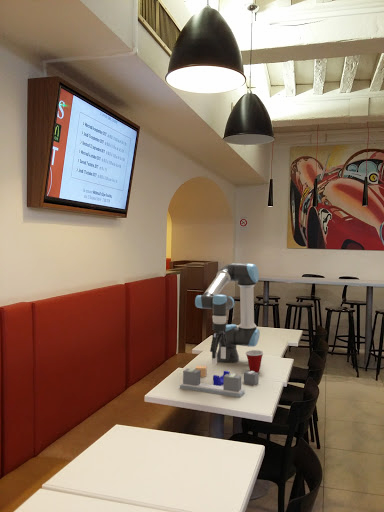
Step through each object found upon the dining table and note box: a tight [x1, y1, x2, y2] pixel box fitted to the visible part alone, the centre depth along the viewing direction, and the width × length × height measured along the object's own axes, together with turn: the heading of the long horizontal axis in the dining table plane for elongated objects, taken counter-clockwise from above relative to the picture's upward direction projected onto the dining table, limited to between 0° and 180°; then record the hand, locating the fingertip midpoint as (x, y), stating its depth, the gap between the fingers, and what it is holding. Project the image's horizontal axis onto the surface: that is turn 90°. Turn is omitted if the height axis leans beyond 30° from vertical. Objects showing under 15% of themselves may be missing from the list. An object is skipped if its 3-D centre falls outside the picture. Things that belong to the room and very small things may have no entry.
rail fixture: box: [179, 367, 245, 398], centre depth 240 cm, size 6×34×10 cm, turn 66°
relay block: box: [243, 370, 260, 386], centre depth 253 cm, size 4×7×6 cm, turn 56°
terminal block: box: [194, 365, 208, 378], centre depth 267 cm, size 5×6×5 cm
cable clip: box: [212, 370, 231, 386], centre depth 252 cm, size 12×4×6 cm, turn 144°
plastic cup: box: [245, 349, 264, 373], centre depth 276 cm, size 11×11×12 cm
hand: (218, 361), depth 252 cm, fingers open, 13 cm apart
